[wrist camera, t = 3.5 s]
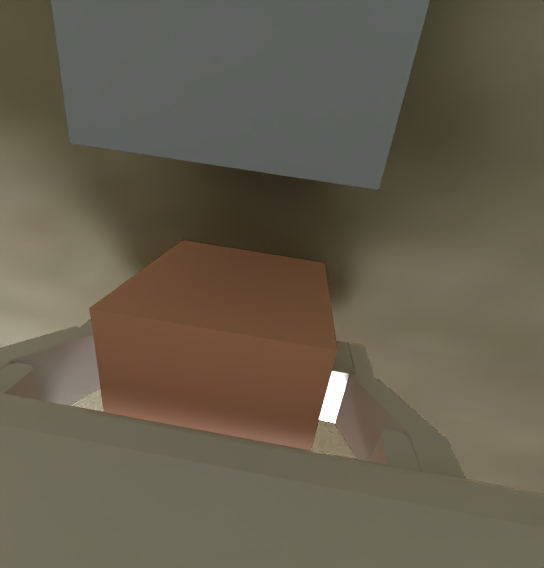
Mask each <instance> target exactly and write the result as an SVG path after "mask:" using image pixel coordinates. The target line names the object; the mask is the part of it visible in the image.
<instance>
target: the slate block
mask: <svg viewBox="0 0 544 568" xmlns="http://www.w3.org/2000/svg"><path fill="white" fill-rule="evenodd" d="M429 3H430V0H51V7H52V14H53V22H54V29H55V37H56V45H57V52H58V60H59V68H60V75H61V83H62V90H63V98H64V106H65V113H66V121H67V128H68V136H69V143H71V144H77V145H84V146H90V147H97V148H104V149H110V150H117V151H123V152H130V153H137V154H143V155H150V156H157V157H163V158H170V159H176V160H183V161H190V162H196V163H203V164H210V165H216V166H223V167H229V168H236V169H243V170H249V171H256V172H263V173H269V174H276V175H282V176H289V177H296V178H302V179H309V180H315V181H322V182H329V183H335V184H342V185H349V186H355V187H362V188H368V189H375V190H379V188H380V184H381V180H382V177H383V173H384V169H385V166H386V162H387V158H388V154H389V151H390V147H391V143H392V140H393V136H394V132H395V129H396V125H397V121H398V117H399V114H400V110H401V106H402V103H403V99H404V95H405V91H406V88H407V84H408V80H409V77H410V73H411V69H412V66H413V62H414V58H415V54H416V51H417V47H418V43H419V40H420V36H421V32H422V28H423V25H424V21H425V17H426V14H427V10H428V6H429Z"/></svg>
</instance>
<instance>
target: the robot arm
mask: <svg viewBox="0 0 544 568" xmlns="http://www.w3.org/2000/svg"><path fill="white" fill-rule="evenodd" d="M336 344H337V355H336V359H335V362H334V366H333V370H332V373H331V377H330V381H329V385H328V388H327V392H326V396H325V399H324V403H323V407H322V411H321V414H320V418H319V420H323V421H328V422H332V423H335V425H336V427H337V428H338V430H339V431H340V433H341V434H342V436H343V437H344V439H345V441H346V442H347V444H348V445H349V447H350V448H351V450H352V451H353V453H354V455H355V456H356V458H357V459H353V458H348V457H342V456H337V455H332V454H326V453H321V452H316V451H310V450H305V449H300V448H294V447H289V446H284V445H278V444H273V443H268V442H262V441H257V440H252V439H246V438H241V437H236V436H230V435H225V434H220V433H214V432H209V431H203V430H198V429H193V428H187V427H182V426H176V425H171V424H165V423H160V422H155V421H149V420H144V419H138V418H133V417H128V416H122V415H117V414H112V413H106V412H101V411H96V410H90V409H85V408H80V407H74V406H70V405H72V404H73V403H75V402H77V401H79V400H80V399H82V398H84V397H85V396H87V395H89V394H91V393H92V392H94V391H96V390H98V389H99V388H100V381H99V373H98V366H97V359H96V352H95V345H94V337H93V330H92V323H91V319H90V320H89V321H88V322H86V323H85V324H84V325H82V326H81V327H72V328H68V329H65V330H61V331H58V332H54V333H51V334H47V335H44V336H40V337H37V338H33V339H30V340H26V341H23V342H19V343H16V344H12V345H9V346H5V347H2V348H0V568H544V494H541V493H536V492H531V491H525V490H520V489H515V488H509V487H504V486H498V485H493V484H488V483H482V482H477V481H472V480H466V478H465V476H464V474H463V472H462V470H461V468H460V466H459V464H458V461H457V459H456V457H455V455H454V453H453V451H452V449H451V447H450V445H449V443H448V441H447V439H446V438H445V437H443V436H442V435H441V434H440V433H439V432H438V431H437V430H436V429H434V428H433V427H432V426H431V425H430V424H429V423H428V422H427V421H425V420H424V419H423V418H422V417H421V416H420V415H419V414H418V413H416V412H415V411H414V410H413V409H412V408H411V407H410V406H409V405H407V404H406V403H405V402H404V401H403V400H402V399H401V398H399V397H398V396H397V395H396V394H395V393H394V392H393V391H392V390H390V389H389V388H388V387H387V386H386V385H385V384H384V383H383V382H381V381H380V380H379V379H374V376H373V372H372V369H371V366H370V362H369V359H368V356H367V352H366V349H365V346H364V345H363V344H356V343H348V342H340V341H336Z"/></svg>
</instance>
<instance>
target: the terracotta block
mask: <svg viewBox="0 0 544 568" xmlns="http://www.w3.org/2000/svg"><path fill="white" fill-rule="evenodd" d="M89 309H90V316H91V323H92V330H93V337H94V345H95V352H96V359H97V366H98V373H99V381H100V388H101V395H102V402H103V409H104V412H106V413H112V414H117V415H122V416H128V417H133V418H138V419H144V420H149V421H155V422H160V423H165V424H171V425H176V426H182V427H187V428H193V429H198V430H203V431H209V432H214V433H220V434H225V435H230V436H236V437H241V438H246V439H252V440H257V441H262V442H268V443H273V444H278V445H284V446H289V447H294V448H300V449H305V450H310V451H311V448H312V444H313V440H314V437H315V433H316V429H317V425H318V422H319V418H320V414H321V411H322V407H323V403H324V399H325V396H326V392H327V388H328V385H329V381H330V377H331V373H332V370H333V366H334V362H335V359H336V355H337V344H336V337H335V330H334V323H333V316H332V310H331V303H330V296H329V289H328V282H327V276H326V269H325V263H323V262H317V261H310V260H304V259H298V258H292V257H285V256H279V255H273V254H266V253H260V252H254V251H248V250H241V249H235V248H229V247H222V246H216V245H210V244H204V243H197V242H191V241H185V240H182V241H181V242H179V243H178V244H177V245H175V246H174V247H172V248H171V249H170V250H168V251H167V252H166V253H164V254H163V255H162V256H160V257H159V258H157V259H156V260H155V261H153V262H152V263H151V264H149V265H148V266H147V267H145V268H144V269H142V270H141V271H140V272H138V273H137V274H136V275H134V276H133V277H132V278H130V279H129V280H127V281H126V282H125V283H123V284H122V285H121V286H119V287H118V288H117V289H115V290H114V291H112V292H111V293H110V294H108V295H107V296H106V297H104V298H103V299H102V300H100V301H99V302H97V303H96V304H95V305H93V306H92V307H91V308H89Z"/></svg>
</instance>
